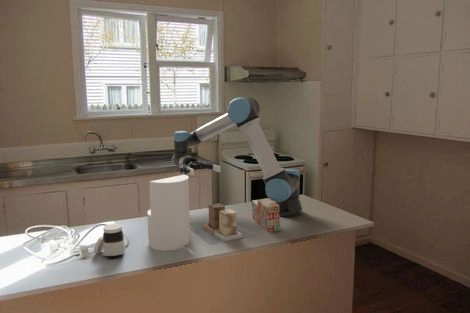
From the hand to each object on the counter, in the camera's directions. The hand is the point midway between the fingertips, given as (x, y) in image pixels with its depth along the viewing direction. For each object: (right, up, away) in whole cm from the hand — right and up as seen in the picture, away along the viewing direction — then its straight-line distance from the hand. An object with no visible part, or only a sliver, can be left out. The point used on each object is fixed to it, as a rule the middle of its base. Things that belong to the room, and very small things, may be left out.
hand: (206, 171), depth 187 cm
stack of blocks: (+28, -26, +4) cm, 38 cm away
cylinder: (-15, -30, -18) cm, 38 cm away
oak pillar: (+10, -28, -13) cm, 32 cm away
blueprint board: (+7, -28, -8) cm, 30 cm away
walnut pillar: (+5, -26, -4) cm, 27 cm away
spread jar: (-36, -32, -30) cm, 57 cm away
